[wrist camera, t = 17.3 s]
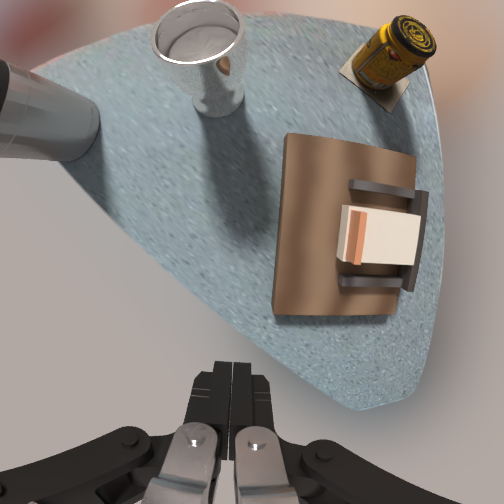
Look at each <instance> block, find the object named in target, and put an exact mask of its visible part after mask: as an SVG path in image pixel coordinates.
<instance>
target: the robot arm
mask: <svg viewBox="0 0 504 504" xmlns="http://www.w3.org/2000/svg"><path fill="white" fill-rule="evenodd" d="M98 128H99V111H98V109H97V106H96V105H95V104H94V102H92V101H91V100H90V99H88V98H86V97H84V96H82V95H80V94H78V93H76V92H74V91H72V90H70V89H67V88H65V87H63V86H61V85H59V84H57V83H55V82H52V81H50V80H48V79H46V78H44V77H41V76H39V75H37V74H34V73H32V72H30V71H27V70H25V69H22V68H20V67H17V66H15V65H12V64H10V63H8V62H5V61H3V60H0V158H21V159H38V160H50V161H62V162H70V161H74V160H76V159H78V158H80V157H81V156H83V155H84V154H85V153H86V152H87V151H88V149H89V148H90V147H91V145H92V143H93V142H94V140H95V137H96V135H97V132H98ZM231 386H232V394H231ZM230 406H231V409H230ZM229 421H230V425H229ZM228 436H229V460H232V461H233V460H234V491H235V503H236V504H460V503H458V502H455V501H452V500H449V499H446V498H444V497H441V496H439V495H436V494H434V493H432V492H429V491H427V490H424V489H422V488H420V487H418V486H415V485H413V484H411V483H409V482H407V481H405V480H403V479H401V478H399V477H396V476H395V475H393V474H391V473H389V472H387V471H385V470H383V469H381V468H379V467H377V466H375V465H374V464H372V463H370V462H368V461H366V460H364V459H363V458H361V457H359V456H358V455H356V454H354V453H353V452H351V451H349V450H347V449H346V448H344V447H343V446H341V445H339V444H338V443H336V442H333V441H330V440H316V441H313V442H311V443H309V444H308V445H307V446H302V445H297V444H292V443H289V442H286V441H284V440H283V439H281V438H280V437H279V436H278V435H277V434H276V432H275V429H274V422H273V413H272V404H271V395H270V387H269V382H268V381H267V379H266V378H265V377H264V375H251V363H241V362H234V366H233V380H232V362H223V361H215V363H214V369H213V372H203V371H201V373H200V374H199V375H198V376H197V377H196V378H195V379H194V383H193V387H192V391H191V396H190V399H189V403H188V407H187V412H186V415H185V419H184V423H183V425H182V426H180V427H179V428H178V429H177V430H176V432H174V433H172V434H169V435H163V436H149V435H148V434H147V433H146V432H145V431H143V430H142V429H140V428H137V427H133V426H126V427H121V428H119V429H116V430H114V431H112V432H110V433H108V434H106V435H103V436H101V437H99V438H97V439H94V440H92V441H90V442H87V443H85V444H82V445H80V446H78V447H75V448H73V449H70V450H67V451H65V452H62V453H60V454H57V455H54V456H51V457H49V458H46V459H43V460H40V461H37V462H34V463H30V464H27V465H24V466H21V467H17V468H14V469H10V470H6V471H2V472H0V504H134V503H136V502H138V501H140V500H142V499H143V500H142V502H141V504H214V500H215V495H216V490H217V484H218V479H219V473H220V470H221V460H227V453H228V452H227V451H228Z"/></svg>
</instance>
